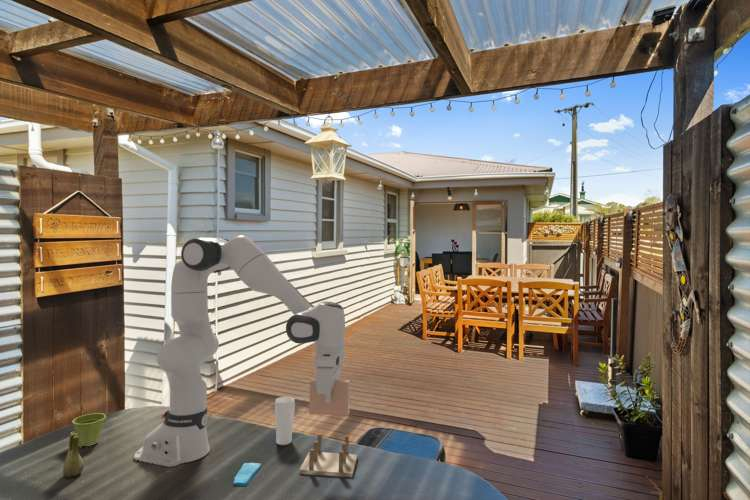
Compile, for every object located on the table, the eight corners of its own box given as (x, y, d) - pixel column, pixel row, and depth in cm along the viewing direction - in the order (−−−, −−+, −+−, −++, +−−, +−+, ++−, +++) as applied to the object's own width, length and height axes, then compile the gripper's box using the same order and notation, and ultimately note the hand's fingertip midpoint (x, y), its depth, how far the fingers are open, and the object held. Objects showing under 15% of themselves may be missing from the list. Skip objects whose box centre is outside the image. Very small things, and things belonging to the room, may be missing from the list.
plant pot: (110, 442, 142) (111, 417, 142) (79, 452, 134) (80, 425, 134) (97, 435, 147) (98, 411, 147) (66, 445, 139) (67, 419, 139)
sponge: (226, 482, 117) (245, 481, 117) (243, 462, 129) (261, 461, 129) (226, 488, 117) (246, 487, 117) (244, 467, 129) (262, 466, 129)
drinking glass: (289, 447, 141) (290, 403, 141) (270, 445, 142) (271, 401, 143) (296, 439, 148) (297, 397, 148) (279, 437, 149) (280, 395, 149)
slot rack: (299, 473, 124) (300, 449, 124) (309, 455, 136) (309, 433, 136) (352, 477, 123) (352, 452, 123) (357, 458, 135) (357, 435, 135)
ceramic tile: (309, 413, 126) (309, 380, 127) (311, 410, 129) (311, 378, 129) (348, 415, 125) (348, 382, 126) (349, 412, 128) (349, 380, 128)
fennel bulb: (66, 471, 123) (68, 430, 123) (86, 468, 124) (88, 428, 125) (59, 481, 117) (61, 438, 117) (80, 478, 119) (82, 436, 119)
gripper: (327, 347, 138) (326, 389, 138) (312, 362, 118) (311, 411, 117) (345, 348, 138) (344, 389, 137) (334, 363, 117) (333, 412, 117)
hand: (329, 399), depth 127 cm, fingers closed on ceramic tile, 2 cm apart
